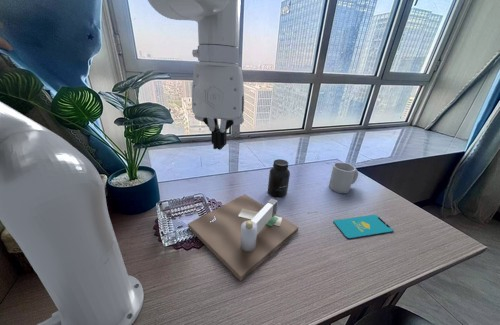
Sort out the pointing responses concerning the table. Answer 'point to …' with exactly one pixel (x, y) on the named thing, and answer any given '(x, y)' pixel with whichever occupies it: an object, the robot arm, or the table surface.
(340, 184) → the cup
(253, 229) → the tuning lever
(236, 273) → the board
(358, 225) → the smartphone
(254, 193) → the table surface
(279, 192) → the supplement bottle
